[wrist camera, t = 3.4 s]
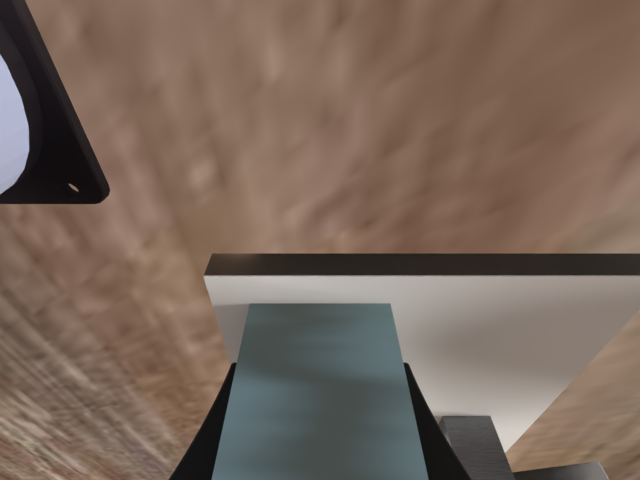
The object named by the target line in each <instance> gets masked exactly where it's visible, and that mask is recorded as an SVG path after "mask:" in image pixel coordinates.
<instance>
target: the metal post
mask: <svg viewBox="0 0 640 480" xmlns="http://www.w3.org/2000/svg"><path fill="white" fill-rule="evenodd" d="M438 425H439V427H440V429H441V430H442V432H443V434H444V436H445V437H446V439H447V441H448V443H449V444H450V446H451V447H452V449H453V451H454V452H455V454H456V456H457V457H458V459H459V461H460V462H461V464H462V465H463V467H464V468H465V470H466V471H467V473H468V475H469V476H470V478H471V479H472V480H515V478H514V475H513V473H512V470H511V468H510V465H509V463H508V460H507V457H506V455H505V452H504V450H503V447H502V444H501V442H500V439H499V437H498V434H497V432H496V429H495V426H494V424H493V421H492V419H491V416H442V418H441V420H440V422H439V424H438Z"/></svg>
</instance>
